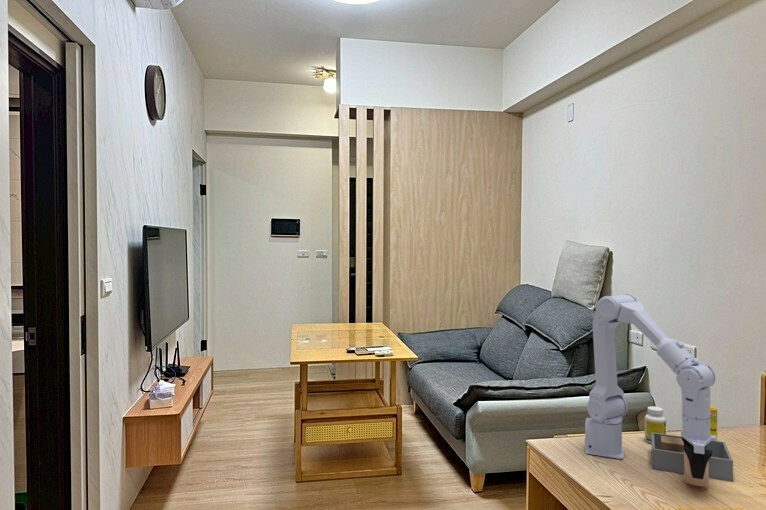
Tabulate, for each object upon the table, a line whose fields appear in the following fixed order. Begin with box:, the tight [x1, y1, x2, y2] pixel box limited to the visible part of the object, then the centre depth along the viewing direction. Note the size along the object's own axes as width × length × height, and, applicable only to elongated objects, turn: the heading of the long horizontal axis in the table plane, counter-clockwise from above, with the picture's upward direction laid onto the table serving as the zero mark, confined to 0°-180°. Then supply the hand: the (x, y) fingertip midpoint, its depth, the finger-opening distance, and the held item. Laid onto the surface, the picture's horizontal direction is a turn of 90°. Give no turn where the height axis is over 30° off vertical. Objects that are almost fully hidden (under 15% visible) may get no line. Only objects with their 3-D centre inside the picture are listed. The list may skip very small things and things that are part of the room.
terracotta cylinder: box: [683, 451, 710, 487], centre depth 121 cm, size 5×5×7 cm
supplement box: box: [710, 403, 718, 439], centre depth 148 cm, size 6×6×11 cm
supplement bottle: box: [644, 405, 667, 445], centre depth 149 cm, size 5×5×10 cm
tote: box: [651, 432, 734, 482], centre depth 134 cm, size 17×13×5 cm
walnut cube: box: [661, 436, 684, 453], centre depth 135 cm, size 5×5×5 cm
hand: (696, 473), depth 121 cm, fingers closed on terracotta cylinder, 5 cm apart
